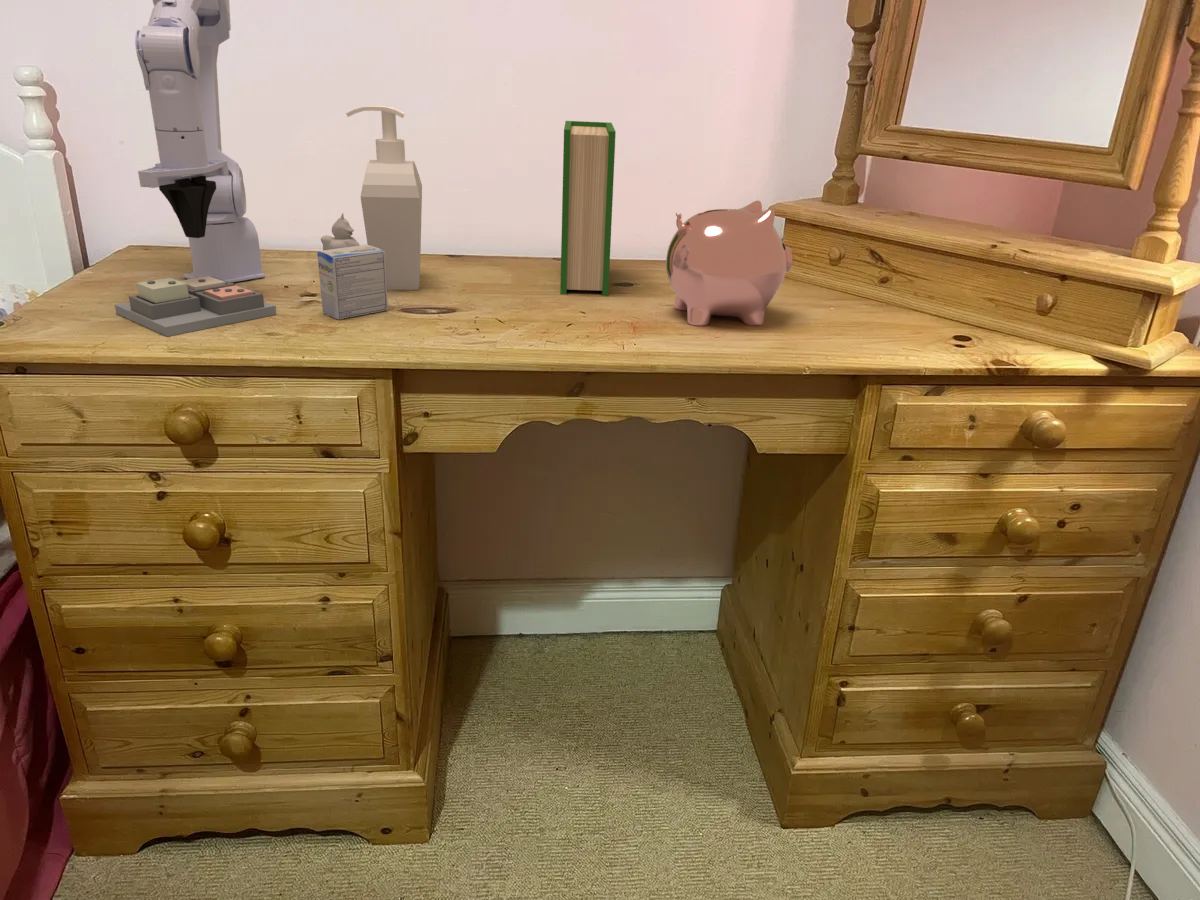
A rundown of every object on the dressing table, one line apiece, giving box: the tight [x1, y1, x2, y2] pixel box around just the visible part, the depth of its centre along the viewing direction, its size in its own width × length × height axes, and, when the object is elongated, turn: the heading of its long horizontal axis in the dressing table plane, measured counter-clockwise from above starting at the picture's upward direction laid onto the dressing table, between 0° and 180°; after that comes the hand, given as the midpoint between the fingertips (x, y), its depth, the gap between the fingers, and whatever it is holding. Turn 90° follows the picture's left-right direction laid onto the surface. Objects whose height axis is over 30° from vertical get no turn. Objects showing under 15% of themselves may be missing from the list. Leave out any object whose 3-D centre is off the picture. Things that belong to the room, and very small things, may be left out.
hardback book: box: [559, 120, 617, 297], centre depth 139 cm, size 18×7×24 cm, turn 1°
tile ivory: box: [180, 276, 226, 290], centre depth 121 cm, size 4×4×2 cm
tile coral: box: [204, 284, 254, 300], centre depth 117 cm, size 4×4×2 cm
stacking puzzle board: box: [114, 276, 277, 337], centre depth 118 cm, size 15×14×3 cm
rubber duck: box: [320, 212, 361, 251], centre depth 150 cm, size 5×7×8 cm
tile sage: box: [136, 277, 189, 303], centre depth 114 cm, size 4×4×2 cm
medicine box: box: [316, 244, 389, 321], centre depth 120 cm, size 8×4×9 cm, turn 134°
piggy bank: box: [665, 200, 793, 327], centre depth 125 cm, size 15×18×16 cm
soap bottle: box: [345, 105, 423, 291], centre depth 132 cm, size 12×10×26 cm
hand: (195, 236), depth 119 cm, fingers closed
